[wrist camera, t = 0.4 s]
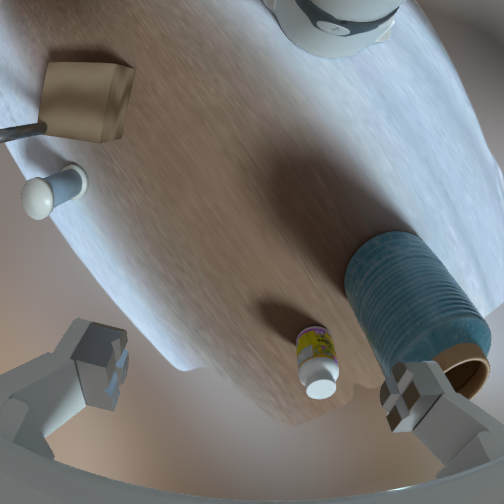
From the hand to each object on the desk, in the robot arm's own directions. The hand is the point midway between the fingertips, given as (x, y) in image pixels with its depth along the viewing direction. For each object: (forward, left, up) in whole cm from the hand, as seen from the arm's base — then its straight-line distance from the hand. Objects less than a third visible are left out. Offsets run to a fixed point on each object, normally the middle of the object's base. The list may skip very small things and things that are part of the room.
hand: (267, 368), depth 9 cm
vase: (+12, +24, -40) cm, 48 cm away
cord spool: (+10, -31, -39) cm, 51 cm away
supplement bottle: (+28, +16, -40) cm, 51 cm away
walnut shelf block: (-4, -29, -39) cm, 49 cm away
